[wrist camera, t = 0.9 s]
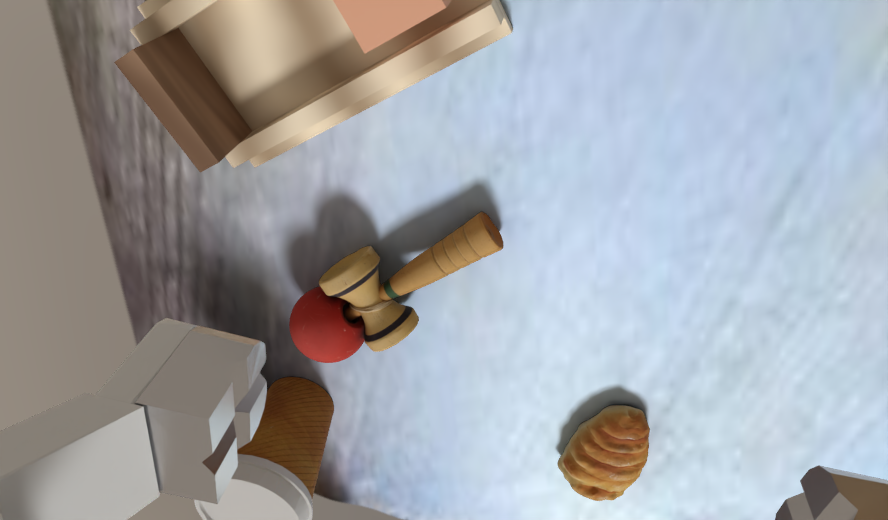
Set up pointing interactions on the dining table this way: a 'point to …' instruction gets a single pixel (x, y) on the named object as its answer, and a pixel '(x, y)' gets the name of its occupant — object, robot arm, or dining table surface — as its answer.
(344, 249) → the dining table surface
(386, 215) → the dining table surface
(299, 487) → the disposable coffee cup
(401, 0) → the salmon pink cube
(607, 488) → the pastry
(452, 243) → the kendama
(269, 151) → the channel
